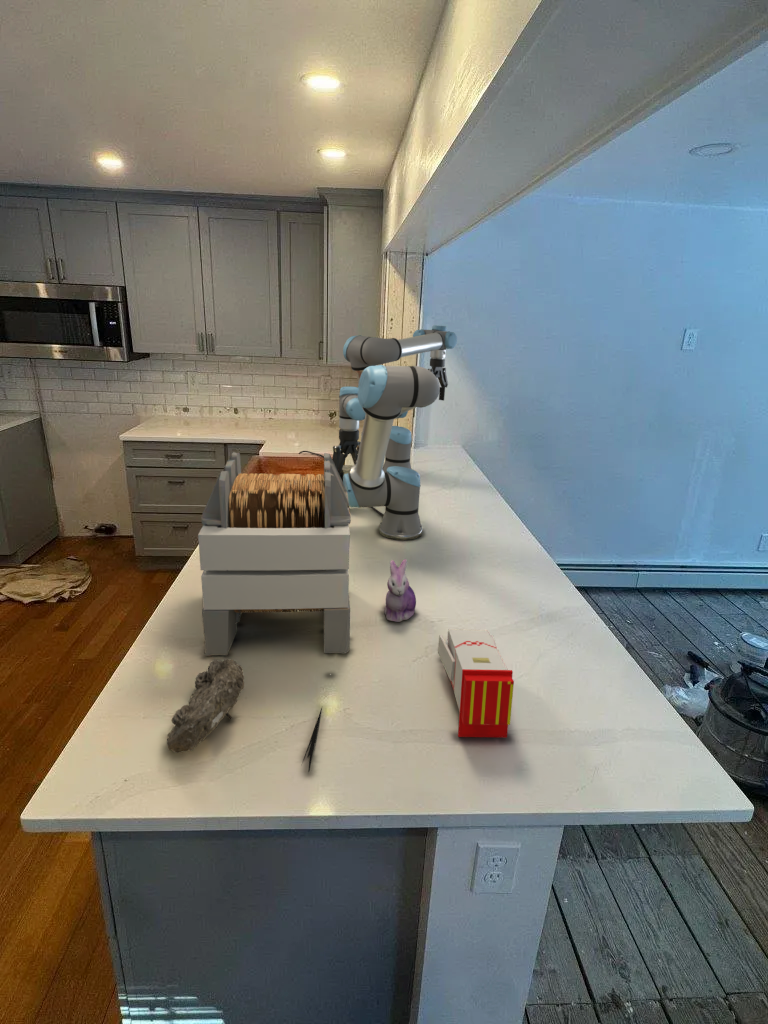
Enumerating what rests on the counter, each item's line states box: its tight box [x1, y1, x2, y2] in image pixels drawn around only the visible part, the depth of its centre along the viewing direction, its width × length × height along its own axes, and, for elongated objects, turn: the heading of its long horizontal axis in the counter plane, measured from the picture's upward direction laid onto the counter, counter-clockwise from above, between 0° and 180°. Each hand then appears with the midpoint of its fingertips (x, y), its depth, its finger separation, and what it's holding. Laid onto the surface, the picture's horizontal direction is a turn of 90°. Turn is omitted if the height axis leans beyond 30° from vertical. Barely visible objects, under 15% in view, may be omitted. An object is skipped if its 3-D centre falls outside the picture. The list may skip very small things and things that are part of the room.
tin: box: [341, 464, 354, 482], centre depth 218 cm, size 8×8×12 cm
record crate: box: [197, 451, 352, 657], centre depth 136 cm, size 34×33×41 cm
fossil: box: [166, 658, 245, 754], centre depth 106 cm, size 22×10×15 cm
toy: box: [437, 628, 515, 738], centre depth 117 cm, size 12×13×30 cm
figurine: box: [384, 558, 417, 623], centre depth 145 cm, size 9×10×15 cm
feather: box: [301, 673, 332, 771], centre depth 108 cm, size 2×28×2 cm
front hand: (347, 487), depth 219 cm, fingers closed on tin, 8 cm apart
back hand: (434, 401), depth 288 cm, fingers open, 13 cm apart
